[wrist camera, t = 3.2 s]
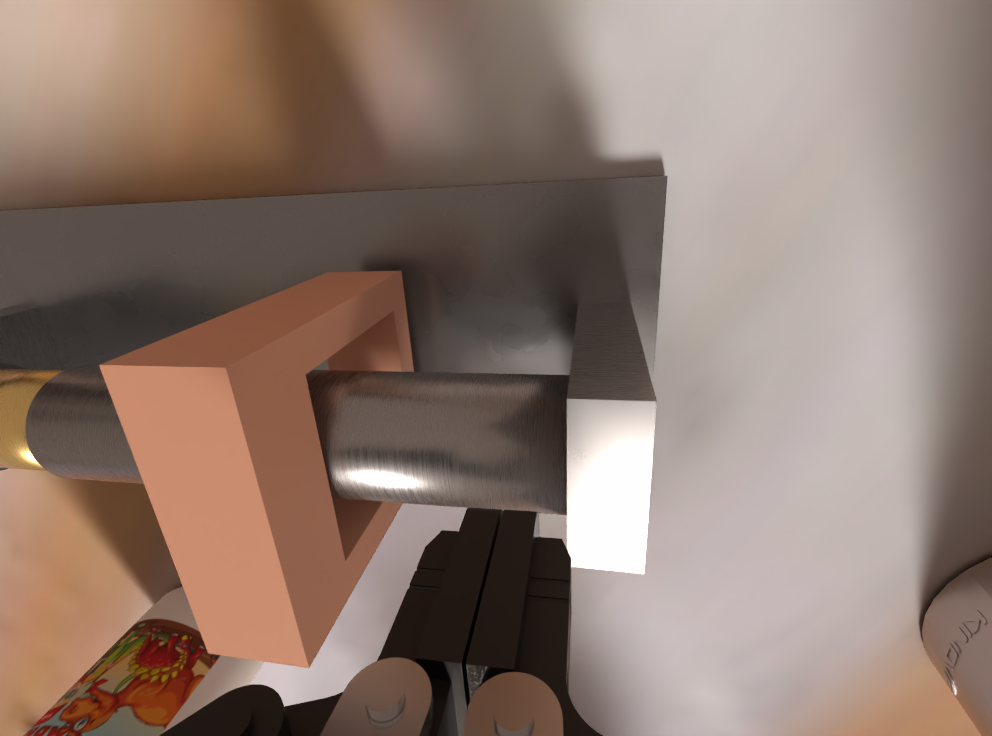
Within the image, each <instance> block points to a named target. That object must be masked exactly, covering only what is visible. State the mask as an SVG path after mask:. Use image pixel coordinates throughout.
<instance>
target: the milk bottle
mask: <svg viewBox="0 0 992 736" xmlns="http://www.w3.org/2000/svg"><path fill="white" fill-rule="evenodd" d="M263 663H264V661H257V660H250V659H244V658H237V657H230V656H223V655H216V654H209V653H208V652H207V649H206V646H205V644H204V641H203V639H202V636H201V633H200V631H199V628H198V625H197V623H196V620H195V617H194V615H193V612H192V609H191V607H190V604H189V602H188V599H187V596H186V594H185V591H184V588H183V586H182V587H179V588H177V589H174V590H172V591H170V592H168V593H167V594H165V595H164V596H163V597H162V598H161V599H160V600H159V601H158V602H157V603H156V604H155V605H154V606H153V607H151V608H150V609H149V610H148V611H147V612H146V613H145V614H144V615H143V616H142V617H141V618H140V619H139V620H138V621H137V622H136V623H135V624H134V625H133V626H132V627H131V628H130V629H129V630H128V631H127V632H126V633H125V634H124V635H123V636H122V637H121V638H120V639H119V640H118V641H117V642H116V643H115V644H114V645H113V646H112V647H111V648H110V649H109V650H108V651H107V652H106V653H105V654H104V655H103V656H102V657H101V658H100V659H99V660H98V661H97V662H96V663H95V664H94V665H93V666H92V667H91V668H90V669H89V670H88V671H87V672H86V673H85V674H84V675H83V676H82V677H81V678H80V679H79V680H78V681H77V682H76V683H75V684H74V685H73V686H72V687H71V688H70V689H69V690H68V691H67V692H66V693H65V694H64V695H63V696H62V697H61V698H60V699H59V700H58V701H57V703H56V704H55V705H54V706H53V707H52V708H51V709H50V710H49V711H48V712H47V713H46V714H45V715H44V716H43V717H42V718H41V719H40V720H39V721H38V722H37V723H36V724H35V725H34V726H33V727H32V728H31V729H30V730H29V731H28V732H27V733H26V734H25V735H24V736H159V735H161V734H162V733H164V732H165V731H167V730H169V729H170V728H172V727H173V726H175V725H176V724H178V723H179V722H181V721H182V720H184V719H186V718H187V717H189V716H190V715H192V714H193V713H195V712H196V711H198V710H200V709H201V708H203V707H204V706H206V705H207V704H209V703H210V702H212V701H214V700H215V699H217V698H218V697H220V696H222V695H223V694H225V693H227V692H229V691H231V690H233V689H236V688H239V687H242V686H246V685H250V684H251V682H252V681H253V679H254V678H255V676H256V675H257V673H258V671H259V670H260V668H261V666H262V665H263Z"/></svg>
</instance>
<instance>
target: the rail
mask: <svg viewBox="0 0 992 736" xmlns="http://www.w3.org/2000/svg"><path fill="white" fill-rule="evenodd" d="M666 188H667V176H646V177H627V178H608V179H589V180H570V181H551V182H532V183H513V184H494V185H475V186H456V187H437V188H418V189H399V190H380V191H361V192H343V193H324V194H305V195H286V196H267V197H248V198H229V199H210V200H191V201H172V202H153V203H134V204H115V205H96V206H77V207H58V208H39V209H20V210H1V211H0V471H1V470H5V469H8V468H13V469H27V470H41V471H49V472H50V473H52V474H55V475H57V476H60V477H64V478H71V479H83V480H97V481H110V482H124V483H137V484H144V483H143V480H142V477H141V475H140V472H139V469H138V467H137V464H136V462H135V459H134V456H133V454H132V451H131V448H130V446H129V443H128V440H127V438H126V435H125V432H124V430H123V427H122V425H121V422H120V419H119V417H118V414H117V411H116V409H115V406H114V403H113V401H112V398H111V396H110V393H109V390H108V388H107V385H106V382H105V380H104V377H103V374H102V372H101V369H100V366H99V365H100V364H103V363H105V362H108V361H110V360H113V359H115V358H118V357H120V356H123V355H125V354H127V353H130V352H132V351H135V350H137V349H140V348H142V347H145V346H147V345H150V344H152V343H155V342H157V341H160V340H162V339H164V338H167V337H169V336H172V335H174V334H177V333H179V332H182V331H184V330H187V329H189V328H192V327H194V326H197V325H199V324H201V323H204V322H206V321H209V320H211V319H214V318H216V317H219V316H221V315H224V314H226V313H229V312H231V311H234V310H236V309H238V308H241V307H243V306H246V305H248V304H251V303H253V302H256V301H258V300H261V299H263V298H266V297H268V296H271V295H273V294H275V293H278V292H280V291H283V290H285V289H288V288H290V287H293V286H295V285H298V284H300V283H303V282H305V281H308V280H310V279H312V278H315V277H317V276H320V275H322V274H325V273H327V272H365V271H402V279H403V287H404V295H405V303H406V311H407V319H408V327H409V335H410V343H411V351H412V359H413V367H414V372H398V371H349V370H329V365H328V360H327V359H326V360H325V361H324V362H322V363H321V364H320V365H318V366H317V367H315V368H314V369H313V370H311V371H310V372H309V373H307V374H306V379H307V384H308V389H309V393H310V398H311V403H312V407H313V412H314V417H315V421H316V426H317V431H318V435H319V440H320V445H321V449H322V454H323V459H324V463H325V468H326V473H327V477H328V482H329V487H330V491H331V496H332V498H341V499H355V500H368V501H382V502H396V503H409V504H423V505H436V506H450V507H463V508H469V507H470V508H486V509H502V510H520V511H536V512H538V513H545V514H559V515H567V551H568V553H569V555H570V557H571V567H578V568H589V569H600V570H611V571H621V572H632V573H643V574H644V567H645V554H646V540H647V527H648V513H649V499H650V486H651V472H652V458H653V445H654V431H655V418H656V404H657V401H656V397H655V393H654V389H653V375H654V361H655V347H656V332H657V318H658V303H659V289H660V274H661V260H662V246H663V231H664V217H665V202H666Z"/></svg>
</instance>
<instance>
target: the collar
mask: <svg viewBox="0 0 992 736" xmlns="http://www.w3.org/2000/svg"><path fill="white" fill-rule="evenodd" d="M326 359H327V360H328V365H329V370H349V371H398V372H414V367H413V359H412V351H411V343H410V335H409V327H408V319H407V311H406V303H405V295H404V287H403V279H402V271H365V272H327V273H325V274H322V275H320V276H317V277H315V278H312V279H310V280H308V281H305V282H303V283H300V284H298V285H295V286H293V287H290V288H288V289H285V290H283V291H280V292H278V293H275V294H273V295H271V296H268V297H266V298H263V299H261V300H258V301H256V302H253V303H251V304H248V305H246V306H243V307H241V308H238V309H236V310H234V311H231V312H229V313H226V314H224V315H221V316H219V317H216V318H214V319H211V320H209V321H206V322H204V323H201V324H199V325H197V326H194V327H192V328H189V329H187V330H184V331H182V332H179V333H177V334H174V335H172V336H169V337H167V338H164V339H162V340H160V341H157V342H155V343H152V344H150V345H147V346H145V347H142V348H140V349H137V350H135V351H132V352H130V353H127V354H125V355H123V356H120V357H118V358H115V359H113V360H110V361H108V362H105V363H103V364H100V365H99V366H100V369H101V372H102V374H103V377H104V380H105V382H106V385H107V388H108V390H109V393H110V396H111V398H112V401H113V403H114V406H115V409H116V411H117V414H118V417H119V419H120V422H121V425H122V427H123V430H124V432H125V435H126V438H127V440H128V443H129V446H130V448H131V451H132V454H133V456H134V459H135V462H136V464H137V467H138V469H139V472H140V475H141V477H142V480H143V483H144V485H145V488H146V491H147V493H148V496H149V499H150V501H151V504H152V506H153V509H154V512H155V514H156V517H157V520H158V522H159V525H160V528H161V530H162V533H163V536H164V538H165V541H166V543H167V546H168V549H169V551H170V554H171V557H172V559H173V562H174V565H175V567H176V570H177V572H178V575H179V578H180V580H181V583H182V586H183V588H184V591H185V594H186V596H187V599H188V602H189V604H190V607H191V609H192V612H193V615H194V617H195V620H196V623H197V625H198V628H199V631H200V633H201V636H202V639H203V641H204V644H205V646H206V649H207V652H208V653H209V654H216V655H223V656H230V657H237V658H244V659H250V660H257V661H264V662H271V663H278V664H285V665H292V666H298V667H305V668H309V667H310V665H311V664H312V662H313V660H314V658H315V657H316V655H317V653H318V651H319V650H320V648H321V646H322V644H323V642H324V641H325V639H326V637H327V635H328V634H329V632H330V630H331V628H332V627H333V625H334V623H335V621H336V620H337V618H338V616H339V614H340V613H341V611H342V609H343V607H344V605H345V604H346V602H347V600H348V598H349V597H350V595H351V593H352V591H353V590H354V588H355V586H356V584H357V583H358V581H359V579H360V577H361V576H362V574H363V572H364V570H365V568H366V567H367V565H368V563H369V561H370V560H371V558H372V556H373V554H374V553H375V551H376V549H377V547H378V546H379V544H380V542H381V540H382V538H383V537H384V535H385V533H386V531H387V530H388V528H389V526H390V524H391V523H392V521H393V519H394V517H395V516H396V514H397V512H398V510H399V509H400V507H401V505H402V503H396V502H382V501H368V500H355V499H341V498H332V496H331V491H330V487H329V482H328V477H327V473H326V468H325V463H324V459H323V454H322V449H321V445H320V440H319V435H318V431H317V426H316V421H315V417H314V412H313V407H312V403H311V398H310V393H309V389H308V384H307V379H306V374H307V373H309V372H310V371H311V370H313V369H314V368H315V367H317V366H318V365H320V364H321V363H322V362H324V361H325V360H326Z"/></svg>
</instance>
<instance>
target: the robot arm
mask: <svg viewBox="0 0 992 736" xmlns="http://www.w3.org/2000/svg"><path fill="white" fill-rule="evenodd" d="M570 634H571V557H570V555H569V553H568V551H567V549H566V547H565V545H564V543H563V541H562V539H556V538H542V537H539V514H538V512H536V511H520V510H504V511H502V509H486V508H470V507H469V508H468V509H467V510H466V513H465V516H464V519H463V522H462V524H461V527H460V530H459V532H457V531H443V530H442V531H441V532H440V533H439V534H438V535H437V536H436V537H435V538H434V539H433V540H432V541H431V542H430V543H429V544H428V545H427V546H426V547H425V549H424V552H423V554H422V557H421V559H420V561H419V564H418V566H417V571H415V573H414V576H413V578H412V580H411V583H410V588H409V589H408V590H407V592H406V595H405V597H404V599H403V602H402V604H401V606H400V609H399V611H398V614H397V616H396V618H395V621H394V623H393V625H392V628H391V630H390V633H389V635H388V637H387V640H386V642H385V644H384V647H383V649H382V652H381V654H380V656H379V658H378V660H377V662H374V663H372V664H370V665H368V666H367V667H365V668H364V669H363V670H361V671H360V672H359V673H358V674H357V675H356V676H354V678H353V679H352V680H351V681H350V682H349V684H348V685H347V687H346V688H345V690H344V692H342V693H339V694H337V695H335V696H331V697H328V698H324V699H319V700H314V701H309V702H305V703H300V704H295V705H290V706H285V707H284V705H283V702H282V699H281V697H280V696H279V694H278V693H277V692H276V691H275V690H274V689H272V688H270V687H268V686H265V685H246V686H242V687H239V688H236V689H233V690H231V691H229V692H227V693H225V694H223V695H222V696H220V697H218V698H217V699H215V700H214V701H212V702H210V703H209V704H207V705H206V706H204V707H203V708H201V709H200V710H198V711H196V712H195V713H193V714H192V715H190V716H189V717H187V718H186V719H184V720H182V721H181V722H179V723H178V724H176V725H175V726H173V727H172V728H170V729H169V730H167V731H165V732H164V733H162V734H161V735H159V736H603V735H601V734H599V733H598V732H596V731H595V730H594V729H592V728H591V727H590V726H589V725H588V724H587V723H586V722H585V721H584V720H583V719H582V718H581V717H580V715H579V714H578V713H577V711H576V710H575V708H574V706H573V704H572V702H571V699H570V697H569V694H568V688H569V659H570ZM922 636H923V643H924V648H925V650H926V652H927V654H928V656H929V658H930V660H931V661H932V663H933V664H934V666H935V667H936V669H937V670H938V672H939V673H940V675H941V676H942V678H943V679H944V681H945V682H946V684H947V685H948V687H949V688H950V690H951V691H952V692H953V694H954V695H955V697H956V698H957V700H958V701H959V703H960V704H961V706H962V707H963V709H964V710H965V712H966V713H967V715H968V716H969V718H970V719H971V720H972V722H973V723H974V725H975V726H976V728H977V729H978V731H979V732H980V734H981V735H982V736H992V558H989V559H987V560H985V561H983V562H981V563H979V564H977V565H975V566H973V567H971V568H969V569H967V570H966V571H964V572H963V573H962V574H960V575H959V576H957V577H956V578H955V579H953V580H952V581H951V582H949V583H948V584H947V585H946V586H945V587H944V588H943V589H942V590H941V592H940V593H939V594H938V595H937V596H936V597H935V598H934V599H933V601H932V603H931V605H930V607H929V609H928V610H927V612H926V614H925V618H924V623H923V628H922Z"/></svg>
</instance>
